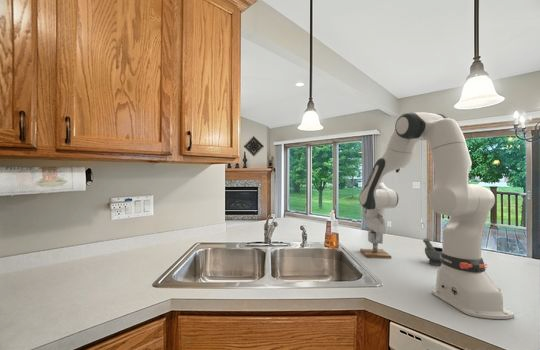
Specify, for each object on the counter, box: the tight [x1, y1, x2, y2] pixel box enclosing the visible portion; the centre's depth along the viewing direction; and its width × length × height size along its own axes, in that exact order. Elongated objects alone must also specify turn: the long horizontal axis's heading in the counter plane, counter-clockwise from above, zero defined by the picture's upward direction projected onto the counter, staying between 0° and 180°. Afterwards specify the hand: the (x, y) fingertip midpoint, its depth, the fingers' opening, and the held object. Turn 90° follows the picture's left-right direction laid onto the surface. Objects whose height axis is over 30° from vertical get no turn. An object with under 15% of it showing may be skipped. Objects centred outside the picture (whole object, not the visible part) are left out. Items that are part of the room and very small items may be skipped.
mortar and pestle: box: [422, 237, 442, 267], centre depth 125 cm, size 11×9×12 cm
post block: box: [359, 243, 392, 259], centre depth 139 cm, size 12×12×6 cm
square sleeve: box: [367, 231, 384, 245], centre depth 139 cm, size 6×6×5 cm
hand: (375, 238), depth 139 cm, fingers closed on square sleeve, 6 cm apart
